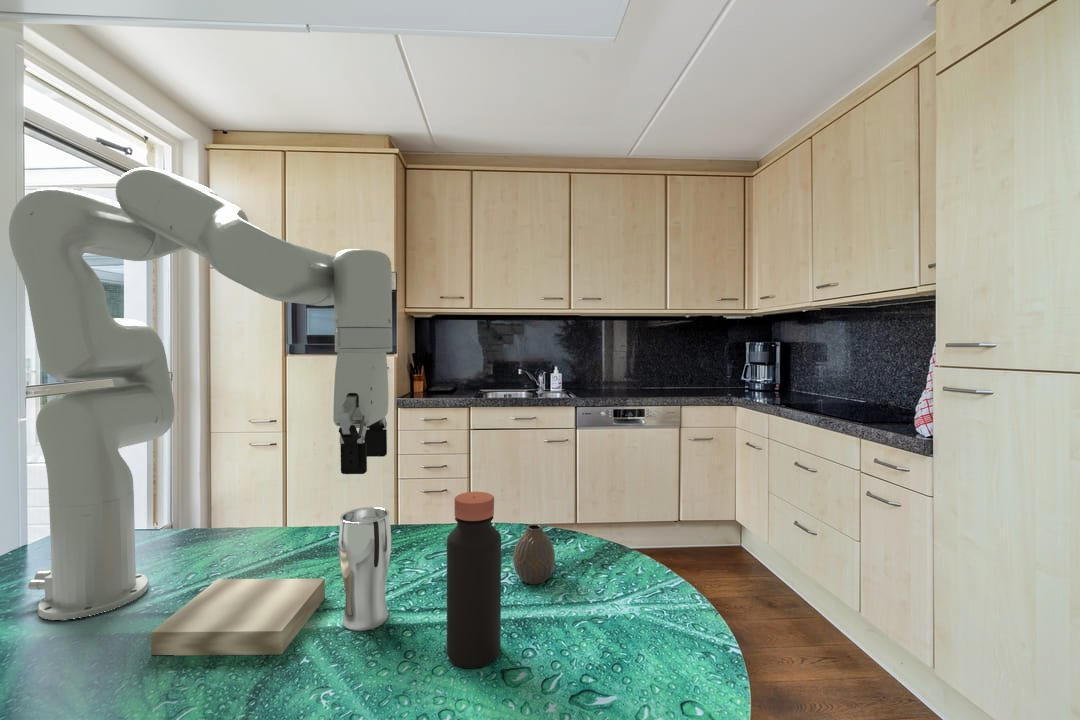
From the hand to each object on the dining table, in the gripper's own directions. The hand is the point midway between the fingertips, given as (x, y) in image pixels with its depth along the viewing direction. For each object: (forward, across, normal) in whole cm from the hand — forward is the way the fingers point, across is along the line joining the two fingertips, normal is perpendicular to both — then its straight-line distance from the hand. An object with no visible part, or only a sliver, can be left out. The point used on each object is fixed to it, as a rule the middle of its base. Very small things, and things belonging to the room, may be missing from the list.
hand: (365, 464), depth 72 cm
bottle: (+22, +8, +16) cm, 29 cm away
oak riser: (+22, +1, -16) cm, 27 cm away
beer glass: (+22, 0, 0) cm, 22 cm away
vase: (+22, -12, +24) cm, 35 cm away
